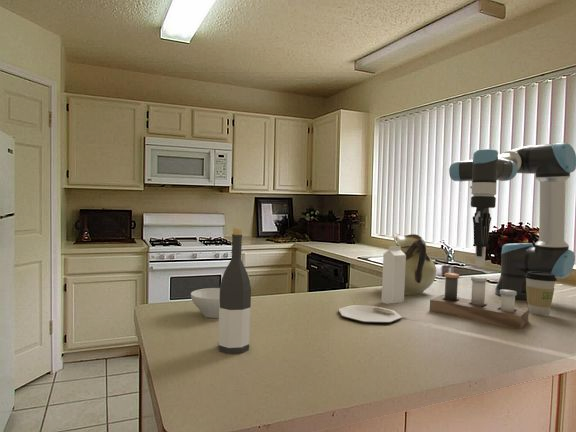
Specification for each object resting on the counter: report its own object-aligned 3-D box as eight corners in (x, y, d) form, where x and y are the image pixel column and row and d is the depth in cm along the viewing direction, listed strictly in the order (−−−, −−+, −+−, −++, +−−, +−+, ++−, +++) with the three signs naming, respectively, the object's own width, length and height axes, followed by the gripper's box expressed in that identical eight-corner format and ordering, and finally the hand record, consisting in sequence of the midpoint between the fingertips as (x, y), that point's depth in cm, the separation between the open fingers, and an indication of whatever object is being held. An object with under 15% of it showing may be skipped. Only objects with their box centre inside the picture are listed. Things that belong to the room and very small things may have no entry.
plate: (409, 318, 136) (410, 313, 136) (379, 330, 122) (380, 325, 122) (360, 306, 150) (360, 302, 150) (327, 316, 135) (327, 311, 135)
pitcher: (399, 284, 192) (402, 232, 191) (447, 294, 175) (450, 237, 174) (371, 291, 177) (373, 234, 176) (421, 302, 160) (424, 239, 159)
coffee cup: (559, 319, 140) (562, 276, 140) (528, 317, 142) (530, 274, 142) (547, 312, 150) (549, 272, 149) (518, 310, 152) (520, 270, 151)
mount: (442, 307, 151) (442, 294, 151) (527, 324, 132) (528, 309, 132) (429, 313, 142) (430, 299, 142) (519, 332, 123) (520, 316, 123)
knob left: (500, 315, 135) (501, 288, 134) (516, 318, 131) (518, 291, 131) (496, 318, 131) (498, 290, 131) (513, 321, 128) (514, 293, 127)
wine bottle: (244, 355, 97) (248, 230, 96) (212, 352, 98) (216, 228, 97) (253, 344, 105) (257, 228, 104) (223, 341, 106) (226, 227, 105)
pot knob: (446, 297, 146) (447, 272, 146) (459, 299, 143) (461, 274, 143) (441, 299, 143) (442, 273, 142) (455, 301, 139) (456, 275, 139)
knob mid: (472, 301, 140) (473, 276, 140) (487, 304, 137) (488, 278, 137) (468, 304, 137) (469, 277, 136) (483, 306, 134) (484, 279, 133)
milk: (403, 304, 154) (407, 246, 153) (392, 306, 151) (395, 247, 150) (392, 300, 159) (395, 245, 159) (380, 302, 156) (383, 245, 156)
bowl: (249, 312, 135) (250, 291, 135) (222, 324, 120) (222, 301, 120) (209, 306, 142) (210, 286, 141) (179, 316, 127) (180, 294, 127)
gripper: (477, 196, 143) (474, 262, 144) (465, 194, 133) (461, 266, 134) (500, 196, 138) (497, 265, 139) (490, 195, 128) (486, 269, 129)
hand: (479, 265), depth 137 cm, fingers closed
